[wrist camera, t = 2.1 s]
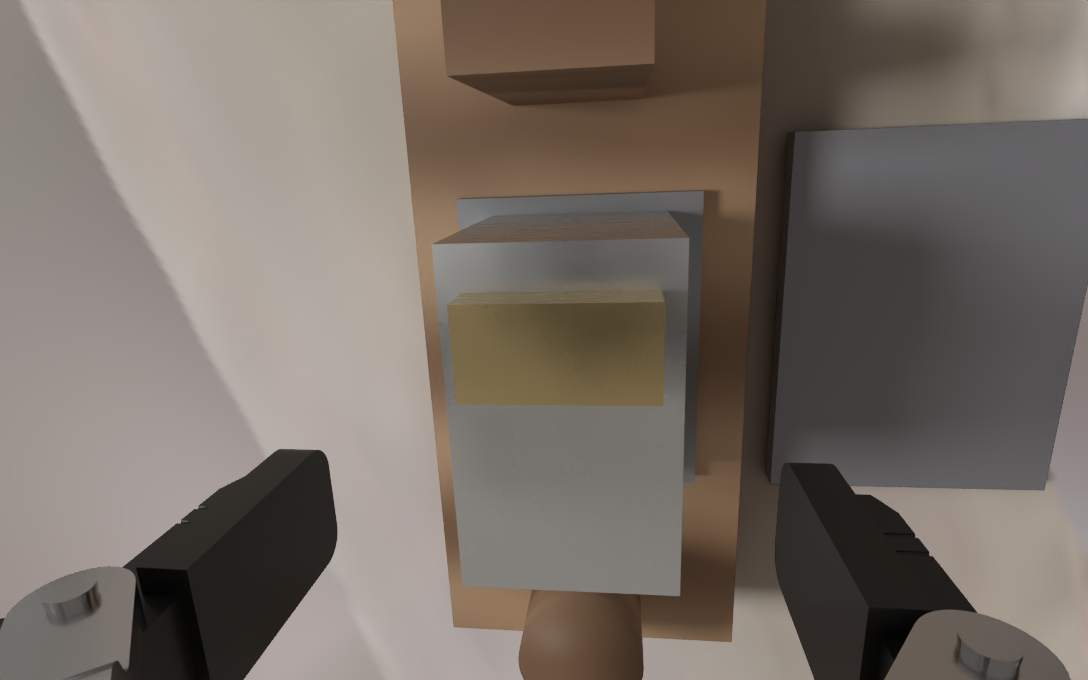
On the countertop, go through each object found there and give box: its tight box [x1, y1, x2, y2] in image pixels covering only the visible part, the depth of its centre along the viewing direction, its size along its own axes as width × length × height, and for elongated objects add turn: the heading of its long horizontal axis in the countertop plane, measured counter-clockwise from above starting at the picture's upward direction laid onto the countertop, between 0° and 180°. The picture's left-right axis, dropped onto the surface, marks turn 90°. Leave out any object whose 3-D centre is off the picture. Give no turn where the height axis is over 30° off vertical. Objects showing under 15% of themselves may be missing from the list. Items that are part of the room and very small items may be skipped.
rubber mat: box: [766, 119, 1088, 490], centre depth 20 cm, size 12×9×1 cm
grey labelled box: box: [431, 211, 689, 596], centre depth 15 cm, size 8×5×7 cm, turn 2°
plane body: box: [393, 0, 767, 680], centre depth 17 cm, size 22×10×10 cm, turn 2°
